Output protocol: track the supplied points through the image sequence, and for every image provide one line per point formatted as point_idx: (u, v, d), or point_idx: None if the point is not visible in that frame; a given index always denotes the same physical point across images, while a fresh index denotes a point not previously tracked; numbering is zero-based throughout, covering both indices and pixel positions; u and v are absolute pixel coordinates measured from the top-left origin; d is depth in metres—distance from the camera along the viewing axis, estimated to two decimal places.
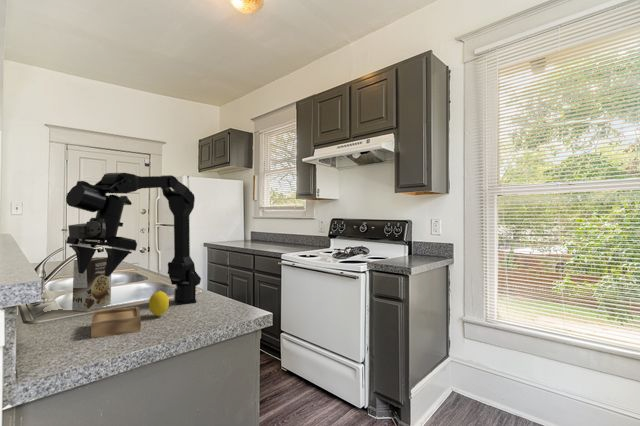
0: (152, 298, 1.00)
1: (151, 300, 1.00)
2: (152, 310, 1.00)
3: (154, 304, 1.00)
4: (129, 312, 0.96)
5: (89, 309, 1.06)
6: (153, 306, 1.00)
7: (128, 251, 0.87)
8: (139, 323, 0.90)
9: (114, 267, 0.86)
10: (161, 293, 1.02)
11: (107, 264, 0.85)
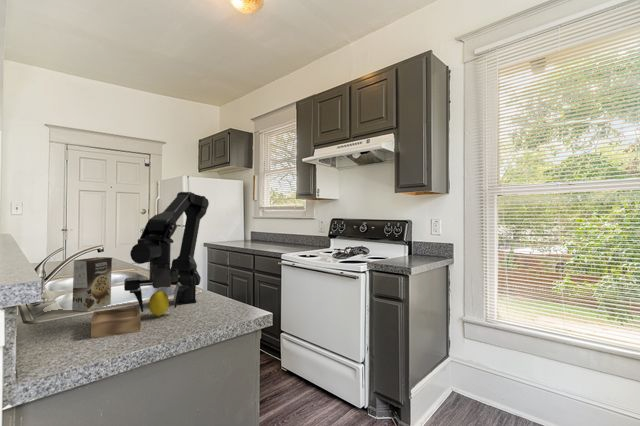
0: (152, 298, 1.00)
1: (151, 300, 1.00)
2: (152, 310, 1.00)
3: (154, 304, 1.00)
4: (129, 312, 0.96)
5: (89, 309, 1.06)
6: (153, 306, 1.00)
7: None
8: (139, 323, 0.90)
9: None
10: (161, 293, 1.02)
11: (177, 298, 1.04)
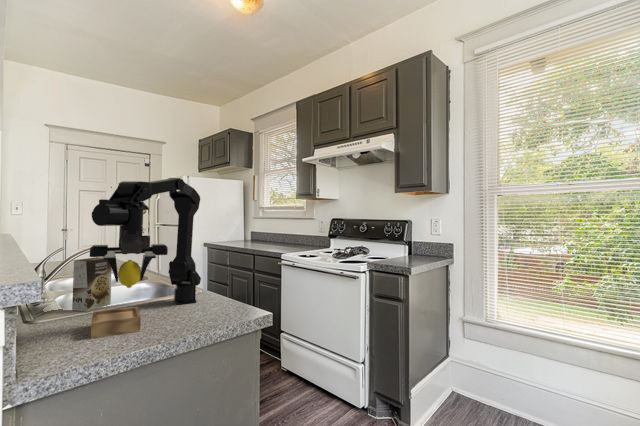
0: (122, 267, 0.92)
1: (120, 269, 0.92)
2: (121, 280, 0.92)
3: (123, 274, 0.91)
4: (128, 312, 0.96)
5: (89, 309, 1.06)
6: (122, 276, 0.91)
7: None
8: (139, 323, 0.90)
9: None
10: (132, 262, 0.94)
11: (143, 270, 0.95)
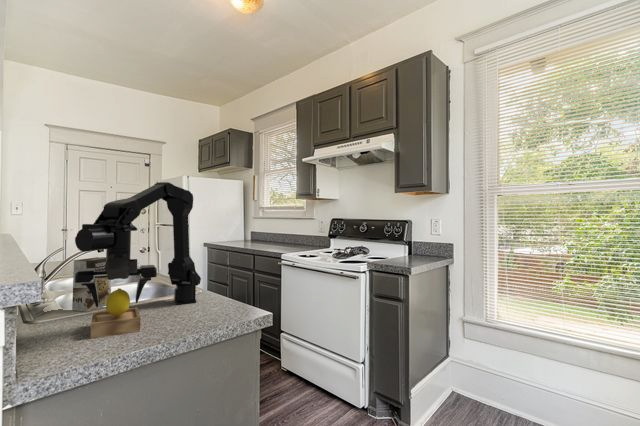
0: (110, 297, 0.90)
1: (109, 299, 0.90)
2: (109, 310, 0.89)
3: (112, 304, 0.89)
4: (128, 313, 0.96)
5: (89, 309, 1.06)
6: (110, 306, 0.89)
7: None
8: (139, 324, 0.90)
9: None
10: (121, 291, 0.91)
11: (139, 292, 0.93)
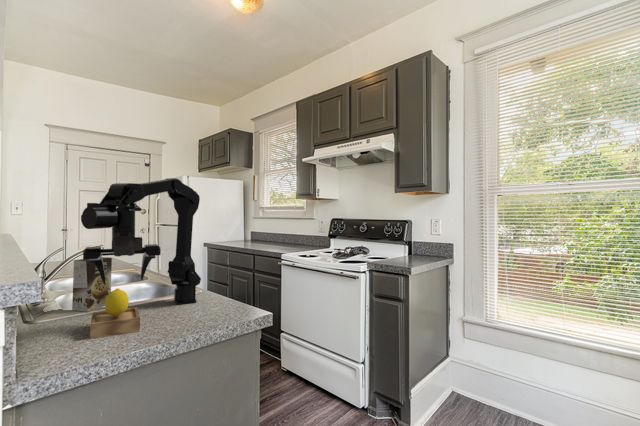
0: (108, 297, 0.90)
1: (107, 299, 0.89)
2: (108, 310, 0.89)
3: (110, 304, 0.89)
4: (128, 313, 0.96)
5: (89, 309, 1.06)
6: (109, 306, 0.89)
7: None
8: (138, 324, 0.89)
9: None
10: (119, 291, 0.91)
11: (144, 270, 0.97)
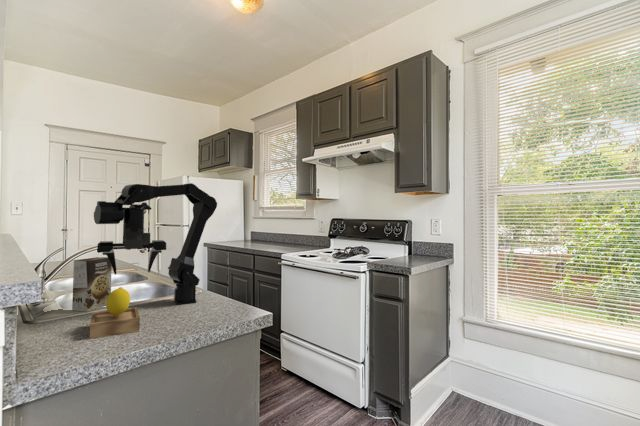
0: (111, 294, 0.91)
1: (109, 296, 0.90)
2: (108, 307, 0.90)
3: (111, 301, 0.90)
4: (128, 313, 0.96)
5: (89, 309, 1.06)
6: (110, 303, 0.89)
7: None
8: (138, 324, 0.89)
9: None
10: (122, 290, 0.92)
11: (151, 263, 1.07)
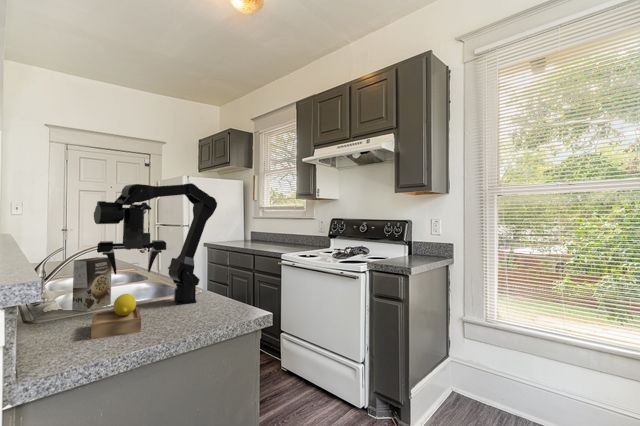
0: (120, 295, 0.95)
1: (119, 296, 0.94)
2: (120, 299, 0.92)
3: (123, 295, 0.94)
4: None
5: (89, 309, 1.06)
6: (122, 296, 0.93)
7: None
8: (139, 324, 0.89)
9: None
10: None
11: (151, 263, 1.07)
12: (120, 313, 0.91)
